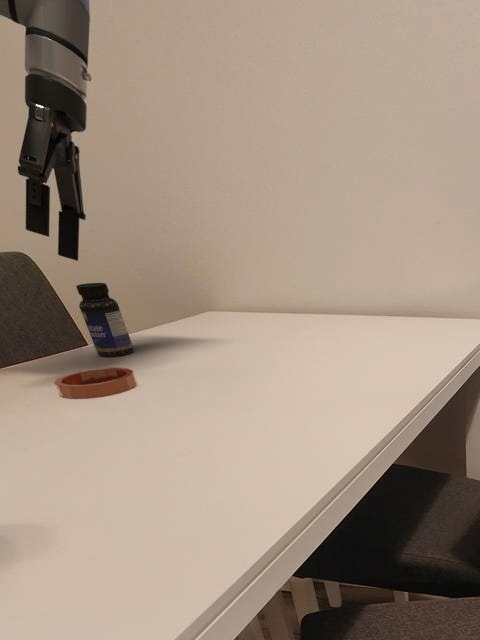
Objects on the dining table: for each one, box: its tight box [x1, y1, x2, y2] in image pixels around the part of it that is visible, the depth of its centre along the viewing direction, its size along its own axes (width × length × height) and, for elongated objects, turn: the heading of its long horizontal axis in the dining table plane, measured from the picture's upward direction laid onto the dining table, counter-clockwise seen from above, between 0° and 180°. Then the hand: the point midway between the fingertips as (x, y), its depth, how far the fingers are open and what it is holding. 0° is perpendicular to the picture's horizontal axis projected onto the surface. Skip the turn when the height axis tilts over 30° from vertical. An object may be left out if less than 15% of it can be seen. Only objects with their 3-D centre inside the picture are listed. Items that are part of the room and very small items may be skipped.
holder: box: [54, 367, 139, 400], centre depth 83 cm, size 10×10×4 cm
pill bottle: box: [75, 282, 134, 358], centre depth 105 cm, size 6×6×11 cm
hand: (53, 246), depth 93 cm, fingers open, 13 cm apart
